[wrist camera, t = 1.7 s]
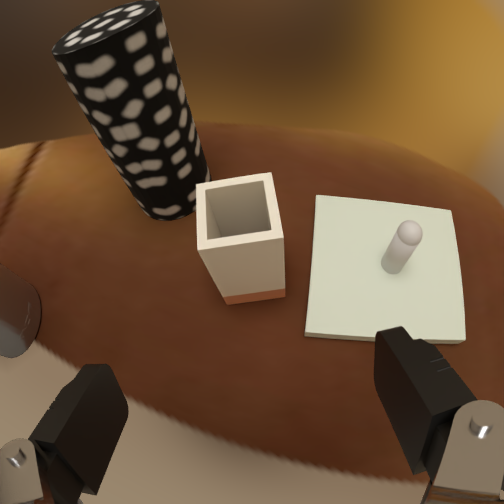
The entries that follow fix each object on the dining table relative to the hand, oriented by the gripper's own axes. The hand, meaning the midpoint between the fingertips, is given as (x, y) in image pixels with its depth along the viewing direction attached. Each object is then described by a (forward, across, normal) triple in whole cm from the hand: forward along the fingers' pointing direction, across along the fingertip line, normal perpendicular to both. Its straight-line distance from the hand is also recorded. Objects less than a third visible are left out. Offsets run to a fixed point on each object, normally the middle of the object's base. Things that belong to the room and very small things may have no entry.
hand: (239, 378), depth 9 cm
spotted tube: (+28, +8, -4) cm, 29 cm away
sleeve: (+20, 0, +4) cm, 20 cm away
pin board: (+18, -12, +5) cm, 22 cm away
